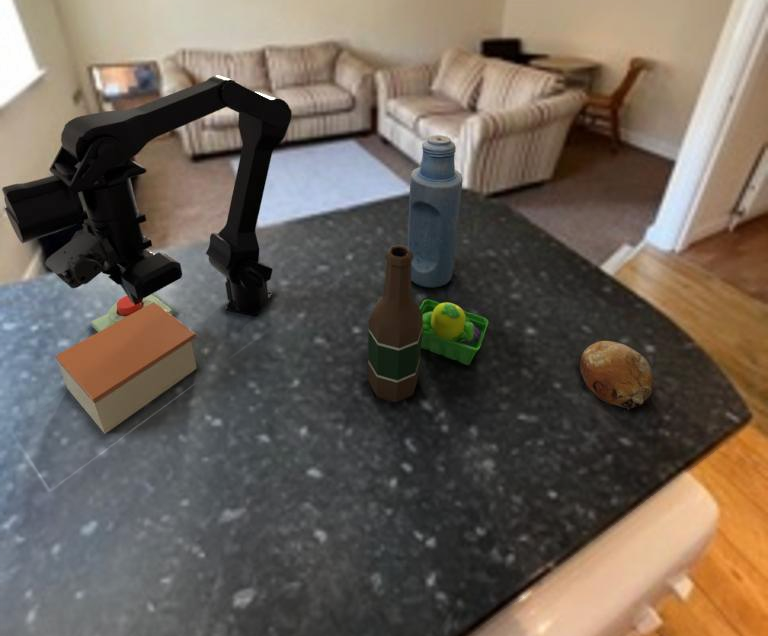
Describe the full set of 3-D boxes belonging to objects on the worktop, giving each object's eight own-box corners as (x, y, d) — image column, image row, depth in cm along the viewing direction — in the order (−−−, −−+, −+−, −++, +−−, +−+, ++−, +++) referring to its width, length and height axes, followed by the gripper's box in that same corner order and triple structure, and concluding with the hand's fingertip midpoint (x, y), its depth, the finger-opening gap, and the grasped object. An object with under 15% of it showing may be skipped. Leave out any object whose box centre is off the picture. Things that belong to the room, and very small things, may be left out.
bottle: (459, 270, 94) (475, 136, 82) (439, 295, 87) (453, 152, 74) (419, 255, 99) (429, 126, 86) (396, 278, 91) (403, 140, 79)
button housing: (149, 296, 84) (146, 283, 83) (173, 315, 80) (170, 301, 79) (92, 327, 77) (88, 313, 76) (115, 349, 73) (111, 335, 71)
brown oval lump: (639, 391, 72) (647, 343, 72) (658, 423, 62) (668, 367, 62) (573, 374, 75) (582, 327, 75) (582, 401, 65) (592, 347, 65)
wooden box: (157, 334, 76) (150, 307, 73) (196, 368, 70) (191, 340, 67) (67, 388, 66) (56, 360, 63) (105, 434, 60) (94, 404, 57)
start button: (135, 299, 80) (133, 291, 79) (146, 308, 78) (144, 300, 77) (114, 310, 77) (112, 302, 76) (125, 319, 75) (122, 311, 74)
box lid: (155, 305, 74) (154, 301, 74) (196, 337, 68) (195, 333, 67) (56, 359, 63) (54, 355, 63) (94, 403, 57) (92, 399, 57)
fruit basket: (486, 341, 76) (494, 288, 72) (472, 380, 69) (481, 324, 64) (423, 320, 81) (427, 269, 76) (404, 354, 73) (408, 300, 68)
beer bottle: (366, 362, 72) (368, 235, 61) (414, 360, 72) (424, 234, 62) (369, 406, 64) (371, 270, 54) (422, 403, 65) (434, 268, 55)
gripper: (14, 213, 59) (49, 306, 65) (79, 265, 49) (112, 368, 56) (103, 183, 67) (126, 269, 73) (174, 223, 57) (193, 317, 64)
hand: (137, 302), depth 66 cm, fingers closed
